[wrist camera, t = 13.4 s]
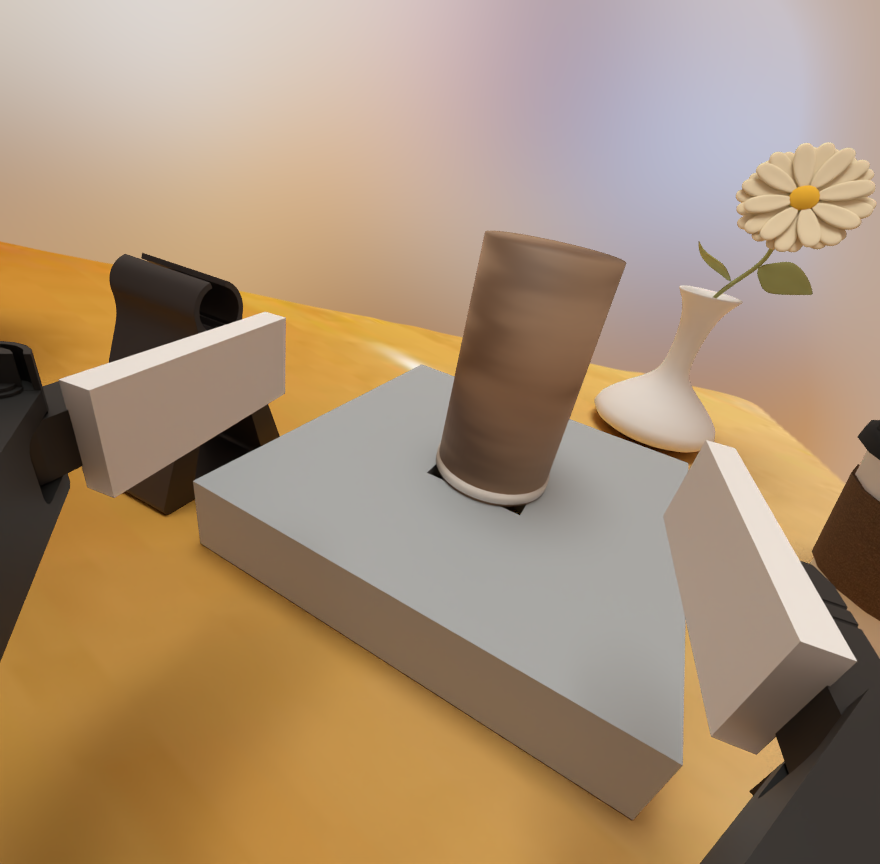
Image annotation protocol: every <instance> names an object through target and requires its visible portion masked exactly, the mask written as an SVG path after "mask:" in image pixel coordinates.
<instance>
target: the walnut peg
mask: <svg viewBox="0 0 880 864" xmlns="http://www.w3.org/2000/svg"><path fill="white" fill-rule="evenodd" d="M625 265H626V262H625V261H623V260H621V259H619V258H617V257H614V256H611V255H608V254H604V253H602V252H598V251H595V250H591V249H587V248H583V247H579V246H576V245H572V244H567V243H563V242H558V241H554V240H549V239H544V238H539V237H534V236H529V235H523V234H517V233H510V232H501V231H486V232H485V235H484V240H483V244H482V249H481V254H480V259H479V263H478V268H477V273H476V278H475V283H474V287H473V292H472V296H471V301H470V306H469V311H468V315H467V321H466V325H465V330H464V335H463V339H462V344H461V349H460V354H459V358H458V363H457V368H456V373H455V377H454V382H453V387H452V392H451V396H450V401H449V406H448V411H447V415H446V420H445V425H444V430H443V434H442V439H441V442H440V444H439V446H438V450H437V455H436V465H437V468H438V471H439V473H440V475H441V476H442V478H443V479H444V480H445V481H446V482H447V483H448V485H450V486H451V487H452V488H453V489H455V490H456V491H458V492H459V493H461V494H463V495H465V496H466V497H469V498H471V499H473V500H476V501H479V502H482V503H486V504H490V505H495V506H501V507H503V508H505V509H507V510H509V511H512V512H513V511H514V508H515V506H520V505H525V504H528V503H531V502H533V501H535V500H536V499H537V498H539V497H540V496H541V495H542V494H543V493H544V491H545V489H546V486H547V484H548V481H549V477H550V470H551V467H552V465H553V462H554V459H555V457H556V454H557V451H558V448H559V446H560V443H561V440H562V437H563V435H564V432H565V429H566V426H567V424H568V421H569V418H570V416H571V413H572V410H573V407H574V405H575V402H576V399H577V396H578V394H579V391H580V388H581V386H582V383H583V380H584V377H585V375H586V372H587V369H588V366H589V364H590V361H591V358H592V355H593V353H594V350H595V347H596V345H597V342H598V339H599V336H600V334H601V331H602V328H603V325H604V322H605V320H606V317H607V314H608V312H609V309H610V306H611V304H612V300H613V298H614V295H615V293H616V290H617V287H618V284H619V282H620V279H621V276H622V273H623V271H624V268H625Z"/></svg>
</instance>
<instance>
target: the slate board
mask: <svg viewBox="0 0 880 864" xmlns="http://www.w3.org/2000/svg"><path fill="white" fill-rule="evenodd" d="M453 382H454V376H451V375H449V374H446V373H443V372H441V371H438V370H435V369H432V368H430V367H427V366H424V365H420V366H418V367H416V368H414V369H412V370H410V371H408V372H406V373H404V374H402V375H400V376H398V377H396V378H394V379H393V380H391V381H389V382H387V383H385V384H383V385H381V386H379V387H377V388H375V389H373V390H371V391H369V392H367V393H365V394H363V395H361V396H359V397H357V398H355V399H353V400H351V401H349V402H347V403H345V404H343V405H341V406H339V407H337V408H335V409H334V410H332V411H330V412H328V413H326V414H324V415H322V416H320V417H318V418H316V419H314V420H312V421H310V422H308V423H306V424H304V425H302V426H300V427H298V428H296V429H294V430H292V431H290V432H288V433H286V434H284V435H282V436H280V437H278V438H277V439H275V440H273V441H271V442H269V443H267V444H265V445H263V446H261V447H259V448H257V449H255V450H253V451H251V452H249V453H247V454H245V455H243V456H241V457H239V458H237V459H235V460H233V461H231V462H229V463H227V464H225V465H223V466H221V467H220V468H218V469H216V470H214V471H212V472H210V473H208V474H206V475H204V476H202V477H200V478H198V479H196V480H194V481H193V485H194V494H195V502H196V511H197V519H198V527H199V536H200V543H201V544H203V545H204V546H206V547H207V548H209V549H210V550H212V551H213V552H215V553H217V554H218V555H220V556H221V557H223V558H224V559H226V560H228V561H229V562H231V563H232V564H234V565H235V566H237V567H238V568H240V569H242V570H243V571H245V572H246V573H248V574H249V575H251V576H252V577H254V578H256V579H257V580H259V581H260V582H262V583H263V584H265V585H267V586H268V587H270V588H271V589H273V590H274V591H276V592H277V593H279V594H281V595H282V596H284V597H285V598H287V599H288V600H290V601H291V602H293V603H295V604H296V605H298V606H299V607H301V608H302V609H304V610H306V611H307V612H309V613H310V614H312V615H313V616H315V617H316V618H318V619H320V620H321V621H323V622H324V623H326V624H327V625H329V626H330V627H332V628H334V629H335V630H337V631H338V632H340V633H341V634H343V635H345V636H346V637H348V638H349V639H351V640H352V641H354V642H355V643H357V644H359V645H360V646H362V647H363V648H365V649H366V650H368V651H370V652H371V653H373V654H374V655H376V656H377V657H379V658H380V659H382V660H384V661H385V662H387V663H388V664H390V665H391V666H393V667H394V668H396V669H398V670H399V671H401V672H402V673H404V674H405V675H407V676H409V677H410V678H412V679H413V680H415V681H416V682H418V683H419V684H421V685H423V686H424V687H426V688H427V689H429V690H430V691H432V692H433V693H435V694H437V695H438V696H440V697H441V698H443V699H444V700H446V701H448V702H449V703H451V704H452V705H454V706H455V707H457V708H458V709H460V710H462V711H463V712H465V713H466V714H468V715H469V716H471V717H472V718H474V719H476V720H477V721H479V722H480V723H482V724H483V725H485V726H487V727H488V728H490V729H491V730H493V731H494V732H496V733H497V734H499V735H501V736H502V737H504V738H505V739H507V740H508V741H510V742H512V743H513V744H515V745H516V746H518V747H519V748H521V749H522V750H524V751H526V752H527V753H529V754H530V755H532V756H533V757H535V758H536V759H538V760H540V761H541V762H543V763H544V764H546V765H547V766H549V767H551V768H552V769H554V770H555V771H557V772H558V773H560V774H561V775H563V776H565V777H566V778H568V779H569V780H571V781H572V782H574V783H575V784H577V785H579V786H580V787H582V788H583V789H585V790H586V791H588V792H590V793H591V794H593V795H594V796H596V797H597V798H599V799H600V800H602V801H604V802H605V803H607V804H608V805H610V806H611V807H613V808H614V809H616V810H618V811H619V812H621V813H622V814H624V815H625V816H627V817H629V818H630V819H632V820H633V819H634V818H635V817H636V816H637V815H638V814H639V813H640V812H641V811H642V810H643V808H644V807H645V806H646V805H647V804H648V803H649V802H650V801H651V800H652V798H653V797H654V796H655V795H656V794H657V793H658V792H659V791H660V790H661V789H662V787H663V786H664V785H665V784H666V783H667V782H668V781H669V780H670V779H671V778H672V776H673V775H674V774H675V773H676V772H677V771H678V770H679V769H680V768H681V767H682V765H683V718H684V666H685V614H684V610H683V605H682V601H681V596H680V591H679V587H678V582H677V578H676V573H675V568H674V564H673V559H672V555H671V550H670V545H669V541H668V536H667V532H666V527H665V522H664V518H663V515H664V513H665V512H666V510H667V508H668V506H669V505H670V503H671V501H672V499H673V497H674V496H675V494H676V492H677V490H678V489H679V487H680V485H681V483H682V482H683V480H684V478H685V476H686V474H687V473H688V463H687V462H684V461H681V460H678V459H676V458H673V457H670V456H668V455H665V454H662V453H660V452H657V451H654V450H651V449H649V448H646V447H643V446H641V445H638V444H635V443H632V442H630V441H627V440H624V439H622V438H619V437H616V436H614V435H611V434H608V433H605V432H603V431H600V430H597V429H595V428H592V427H589V426H587V425H584V424H581V423H578V422H576V421H573V420H570V419H569V421H568V424H567V426H566V429H565V432H564V435H563V437H562V440H561V443H560V446H559V448H558V451H557V454H556V457H555V459H554V462H553V465H552V467H551V470H550V477H549V481H548V484H547V486H546V489H545V491H544V493H543V494H542V495H541V496H540V497H539V498H537V499H536V500H535V501H533V502H531V503H528V504H525V505H520V506H515V508H514V510H516V511H518V512H520V513H521V514H520V515H518V514H516V513H514V512H512V511H509V510H507V509H505V508H503V507H501V506H495V505H490V504H486V503H482V502H479V501H476V500H473V499H471V498H469V497H466V496H465V495H463V494H461V493H459V492H458V491H456V490H455V489H453V488H452V487H451V486H450V485H448V483H447V482H446V481H445V480H444V479H443V478H442V476H441V475H440V473H439V471H438V468H437V465H436V455H437V450H438V446H439V444H440V442H441V439H442V434H443V430H444V425H445V420H446V415H447V411H448V406H449V401H450V396H451V392H452V387H453Z"/></svg>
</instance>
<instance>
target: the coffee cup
mask: <svg viewBox="0 0 880 864" xmlns="http://www.w3.org/2000/svg"><path fill="white" fill-rule="evenodd" d="M858 438H859V439H860V441H861V442H862V443H863V444H864V446H865V447H866V449H867V452H866V454H865V456H864V458H863V460H862V462H861V464H860V465H857V466H856V468H855V469H854V470H853V472H852V473H851V475H850V477H849V479H848V481H847V482H846V484H845V486H844V488H843V490H842V492H841V494H840V496H839V498H838V500H837V502H836V504H835V506H834V508H833V510H832V512H831V514H830V516H829V518H828V520H827V522H826V524H825V526H824V528H823V530H822V532H821V534H820V536H819V538H818V540H817V542H816V544H815V546H814V548H813V550H812V553H813V558H812V560H811V562H810V564H811V565H813V566H814V567H815V568H816V569H817V570H818V571H820V572H821V573H822V574H823V575H824V576H825V577H826V578H827V579H828V580H829V581H830V582H831V583H832V584H833V585H834V586H835V588H836V589H837V591H838V593H839V594H840V596H841V597H842V599H843V601H844V602H845V604H846V605H847V607H848V608H847V610H848V611H850V612H851V613H852V615H853V616H854V618H855V620H856V621H857V623H858V624H859V625H858V628H859V629H862V631H863V632H864V634H865V636H866V637H867V639H868V640H869V642H870V644H871V645H872V647H873V648H874V650H875V652H876V653H877V655H878V656H879V658H880V420H871V421H870V422H869V424H868V425H867V426H866V427H865V428H864V429H863V431H862V432H861V433H860V434H859V436H858Z"/></svg>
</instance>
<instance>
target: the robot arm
mask: <svg viewBox="0 0 880 864" xmlns="http://www.w3.org/2000/svg"><path fill="white" fill-rule="evenodd" d="M285 334H286V318H285V317H281V316H278V315H274V314H271V313H267V312H263V313H260V314H257V315H254V316H251V317H248V318H245V319H242V320H239V321H236V322H233V323H229V324H226V325H223V326H220V327H217V328H214V329H211V330H208V331H205V332H202V333H199V334H196V335H193V336H190V337H187V338H184V339H181V340H178V341H175V342H172V343H169V344H165V345H162V346H159V347H156V348H153V349H150V350H147V351H144V352H141V353H138V354H135V355H132V356H129V357H126V358H123V359H120V360H117V361H114V362H111V363H108V364H105V365H101V366H98V367H95V368H92V369H89V370H86V371H83V372H80V373H77V374H74V375H71V376H68V377H65V378H62V379H59V381H58V382H55V383H52V384H49V385H46V386H43V387H42V384H41V380H40V377H39V373H38V370H37V366H36V363H35V359H34V356H33V353H32V349H30V348H29V347H28V346H26V345H23V344H19V343H15V342H4V341H0V661H1V659H2V656H3V654H4V651H5V649H6V646H7V644H8V641H9V639H10V636H11V634H12V631H13V629H14V626H15V624H16V621H17V619H18V616H19V614H20V611H21V609H22V606H23V604H24V601H25V599H26V596H27V594H28V591H29V589H30V586H31V584H32V581H33V579H34V576H35V574H36V571H37V569H38V566H39V564H40V561H41V559H42V556H43V554H44V551H45V549H46V546H47V544H48V541H49V539H50V536H51V534H52V531H53V529H54V526H55V524H56V521H57V519H58V516H59V514H60V511H61V509H62V506H63V504H64V501H65V499H66V496H67V494H68V491H69V489H70V480H69V477H68V473H69V472H71V471H73V470H75V469H77V468H79V467H81V466H82V469H83V473H84V476H85V480H86V484H87V487H88V488H91V489H93V490H96V491H98V492H101V493H103V494H106V495H108V496H111V497H113V498H115V497H117V496H118V495H120V494H122V493H123V492H125V491H126V490H128V489H130V488H131V487H133V486H135V485H136V484H138V483H140V482H141V481H143V480H144V479H146V478H148V477H149V476H151V475H153V474H154V473H156V472H158V471H159V470H161V469H162V468H164V467H166V466H167V465H169V464H171V463H172V462H174V461H175V460H177V459H179V458H180V457H182V456H184V455H185V454H187V453H189V452H190V451H192V450H193V449H195V448H197V447H198V446H200V445H202V444H203V443H205V442H207V441H208V440H210V439H211V438H213V437H215V436H216V435H218V434H220V433H221V432H223V431H224V430H226V429H228V428H229V427H231V426H233V425H234V424H236V423H238V422H239V421H241V420H242V419H244V418H246V417H247V416H249V415H251V414H252V413H254V412H255V411H257V410H259V409H260V408H262V407H264V406H265V405H267V404H269V403H270V402H272V401H273V400H275V399H277V398H278V397H280V396H282V395H283V394H285ZM663 518H664V522H665V527H666V532H667V536H668V541H669V545H670V550H671V555H672V559H673V564H674V568H675V573H676V578H677V582H678V587H679V591H680V596H681V601H682V605H683V610H684V614H685V619H686V624H687V628H688V633H689V637H690V642H691V647H692V651H693V656H694V660H695V665H696V670H697V674H698V679H699V683H700V688H701V693H702V697H703V702H704V706H705V711H706V716H707V720H708V725H709V729H710V734H711V737H713V738H716V739H718V740H721V741H723V742H726V743H728V744H731V745H733V746H736V747H738V748H741V749H743V750H746V751H748V752H751V753H753V754H756V755H757V754H758V753H759V752H760V751H761V750H762V749H763V748H764V747H765V746H766V745H768V744H769V743H770V742H771V741H772V740H773V739H774V738H775V737H777V740H778V743H779V746H780V749H781V752H782V755H783V758H784V762H783V763H782V764H781V765H779V766H778V767H777V768H776V769H775V770H774V771H772V772H771V773H770V774H769V775H768V776H767V777H766V778H764V779H763V780H762V781H761V782H760V783H759V784H757V785H756V786H755V787H754V788H753V789H752V790H750V791H749V792H750V793H751V794H752V795H753V797H752V798H751V800H750V801H749V802H748V803H747V805H746V806H745V807H744V808H743V810H742V811H741V812H740V813H739V815H738V816H737V817H736V819H735V820H734V821H733V822H732V824H731V825H730V826H729V827H728V829H727V830H726V831H725V832H724V834H723V835H722V836H721V838H720V839H719V840H718V841H717V843H716V844H715V845H714V846H713V848H712V849H711V850H710V851H709V853H708V854H707V855H706V856H705V858H704V859H703V860H702V862H701V863H700V864H880V658H879V656H878V655H877V653H876V652H875V650H874V648H873V647H872V645H871V644H870V642H869V640H868V639H867V637H866V636H865V634H864V632H863V631H862V629H859V628H858V625H859V624H858V623H857V621H856V620H855V618H854V616H853V615H852V613H851V612H850V611H848V610H847V608H848V607H847V605H846V604H845V602H844V601H843V599H842V597H841V596H840V594H839V593H838V591H837V589H836V588H835V586H834V585H833V584H832V583H831V582H830V581H829V580H828V579H827V578H826V577H825V576H824V575H823V574H822V573H821V572H820V571H818V570H817V569H816V568H815V567H814V566H813V565H811V564H808V563H805V562H802V561H800V560H799V559H798V557H797V555H796V553H795V552H794V550H793V548H792V546H791V545H790V543H789V541H788V540H787V538H786V536H785V534H784V533H783V531H782V529H781V527H780V526H779V524H778V522H777V520H776V519H775V517H774V515H773V513H772V512H771V510H770V508H769V506H768V505H767V503H766V501H765V499H764V498H763V496H762V494H761V492H760V491H759V489H758V487H757V485H756V484H755V482H754V480H753V478H752V477H751V475H750V473H749V471H748V470H747V468H746V466H745V464H744V463H743V461H742V459H741V457H740V456H739V454H738V452H737V450H736V449H735V448H732V447H729V446H725V445H722V444H718V443H715V442H711V441H708V440H706V441H705V443H704V444H703V446H702V448H701V450H700V451H699V453H698V455H697V457H696V458H695V460H694V462H693V464H692V466H691V467H690V469H689V471H688V473H687V474H686V476H685V478H684V480H683V482H682V483H681V485H680V487H679V489H678V490H677V492H676V494H675V496H674V497H673V499H672V501H671V503H670V505H669V506H668V508H667V510H666V512H665V513H664V515H663Z"/></svg>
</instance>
